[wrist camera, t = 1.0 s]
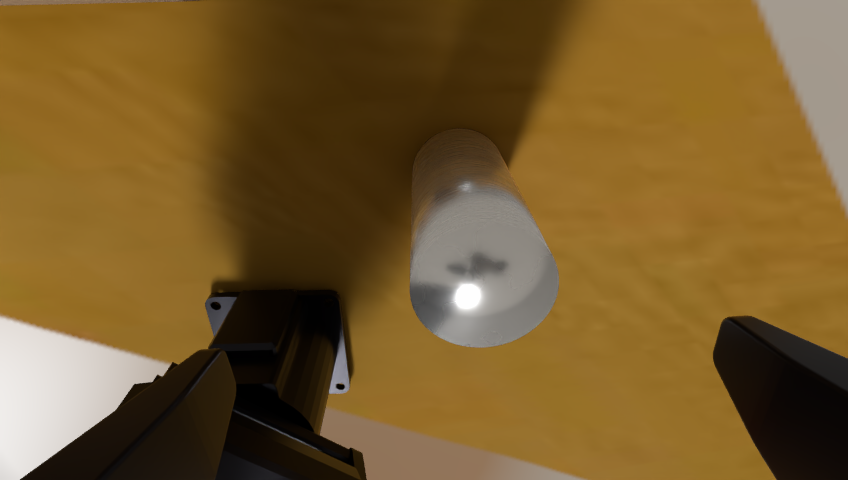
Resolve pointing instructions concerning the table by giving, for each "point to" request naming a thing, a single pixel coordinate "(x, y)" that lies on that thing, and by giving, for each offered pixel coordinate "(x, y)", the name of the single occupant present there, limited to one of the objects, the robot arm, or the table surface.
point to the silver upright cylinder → (475, 245)
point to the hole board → (76, 1)
